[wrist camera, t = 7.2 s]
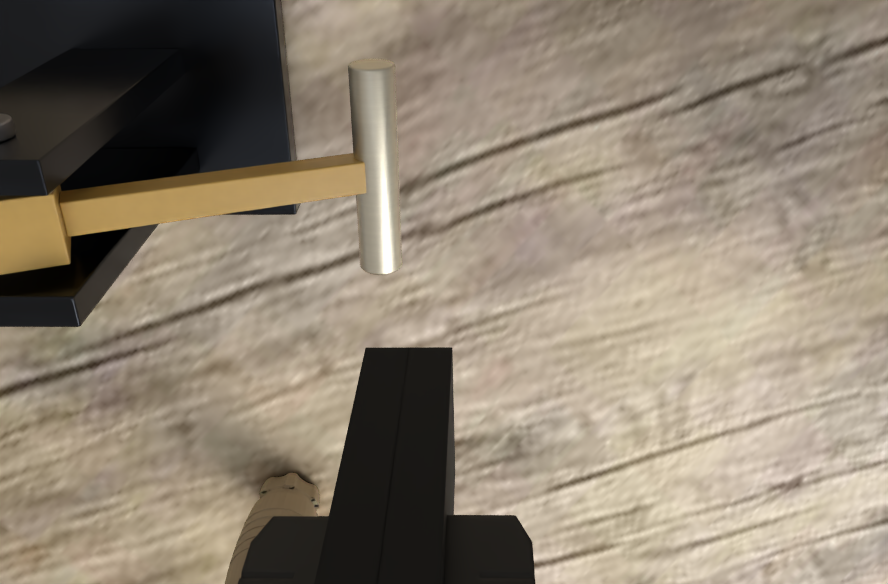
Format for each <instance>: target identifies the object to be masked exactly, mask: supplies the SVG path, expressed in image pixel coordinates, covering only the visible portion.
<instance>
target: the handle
mask: <svg viewBox="0 0 888 584" xmlns="http://www.w3.org/2000/svg"><path fill="white" fill-rule="evenodd" d="M259 495H260V499H259V500H258V501H257V502H256V504H255V505H254V507H253V508H252V510H251V512H250V514H249V516H248V518H247V520H246V522H245V524H244V527H243V529H242V532H241V534H240V537H239V539H238V542H237V544H236V547H235V550H234V553H233V557H232V559H231V562H230V565H229V569H228V572H227V577H226V581H225V584H238V581H239V578H241V572H242V568H243V565H244V562H245V559H246V556H247V553H248V550H249V547H250V543H251V541H252V540H253V539H254V538H255V537H256V536H257V534H258V533H259V532H260V531H261V530H262V529H263V528H264V526H265V525H266V524H267V523H268V522H269V521H270V519H271V518H272V517H273V516H318V515H317V512H316V511H317V509H318V508H319V504H320V494H319V490H318V488H317V487H316V486H315V485H314V484H310V483H307V482H305V481H304V480H302V479H301V478H300V477H299V476H298V474H295V473H288V474H287V475H285V476H282V477H271V478H269V479H267V480H266V481H265V483H264V484H263V486H262V488H261V490H260V493H259Z"/></svg>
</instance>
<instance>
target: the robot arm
mask: <svg viewBox="0 0 888 584" xmlns="http://www.w3.org/2000/svg"><path fill="white" fill-rule="evenodd" d="M454 488H455V446H454V403H453V359H452V348H366V349H365V353H364V358H363V362H362V367H361V372H360V376H359V381H358V385H357V390H356V395H355V399H354V404H353V408H352V413H351V418H350V422H349V427H348V431H347V436H346V440H345V445H344V450H343V454H342V459H341V463H340V468H339V473H338V477H337V482H336V486H335V491H334V495H333V500H332V505H331V509H330V514H329V516H273V517H272V518H271V519H270V521H269V522H268V523H267V524H266V525H265V526H264V528H263V529H262V530H261V531H260V532H259V533H258V534H257V536H256V537H255V538H254V539H253V540H252V541H251V543H250V547H249V550H248V553H247V556H246V559H245V562H244V565H243V568H242V572H241V578H239V581H238V584H535V577H534V560H533V547H532V541H531V539H530V538H529V536H528V535H527V533H526V531H525V530H524V528H523V527H522V525H521V523H520V522H519V520H518V519H517V517H516V516H514V515H454Z"/></svg>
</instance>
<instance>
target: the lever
mask: <svg viewBox="0 0 888 584" xmlns="http://www.w3.org/2000/svg"><path fill="white" fill-rule="evenodd" d="M348 73H349V89H350V105H351V121H352V137H353V153H351V154H344V155H336V156H328V157H321V158H313V159H305V160H298V161H290V162H282V163H275V164H267V165H259V166H252V167H244V168H236V169H229V170H221V171H213V172H205V173H198V174H190V175H182V176H175V177H167V178H159V179H152V180H144V181H136V182H129V183H121V184H113V185H106V186H98V187H90V188H83V189H75V190H67V191H61V187H60V185H59V186H58V187H57V188H56V189H54V190H53V191H52V192H51V193H50V194H49V195H47V196H0V275H3V274H9V273H16V272H22V271H29V270H35V269H41V268H48V267H54V266H61V265H67V264H70V262H71V236H78V235H84V234H91V233H98V232H105V231H112V230H119V229H126V228H132V227H139V226H146V225H153V224H160V223H167V222H174V221H180V220H187V219H194V218H201V217H208V216H215V215H222V214H228V213H235V212H242V211H249V210H256V209H263V208H270V207H276V206H283V205H290V204H297V203H304V202H311V201H318V200H324V199H331V198H338V197H345V196H352V195H356V201H357V217H358V233H359V249H360V265H361V268H362V269H363V270H364V271H365V272H367V273H370V274H376V275H383V274H390V273H393V272H395V271H397V270H399V269H400V267H401V265H402V250H401V222H400V195H399V167H398V140H397V112H396V85H395V65H394V63H393V62H391V61H388V60H384V59H362V60H357V61H354V62H352V63H350V64H349V66H348Z"/></svg>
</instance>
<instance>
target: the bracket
mask: <svg viewBox="0 0 888 584" xmlns="http://www.w3.org/2000/svg"><path fill="white" fill-rule="evenodd" d="M290 161H297V160H296V150H295V139H294V129H293V119H292V108H291V98H290V88H289V77H288V67H287V56H286V46H285V36H284V25H283V15H282V5H281V0H0V196H47V195H49V194H50V193H51V192H52V191H53V190H54V189H56V188H57V187H58V186H59V185H60V187H61V191H67V190H75V189H83V188H90V187H98V186H106V185H113V184H121V183H129V182H136V181H144V180H152V179H159V178H167V177H175V176H182V175H190V174H198V173H205V172H213V171H221V170H229V169H236V168H244V167H252V166H259V165H267V164H275V163H282V162H290ZM300 204H301V203H297V204H290V205H283V206H276V207H270V208H263V209H256V210H249V211H242V212H235V213H228V214H222V215H280V214H296V213H297V211H298V208H299V206H300ZM157 226H158V224H153V225H146V226H139V227H132V228H126V229H119V230H112V231H105V232H98V233H91V234H84V235H78V236H71V262H70V264H67V265H61V266H54V267H48V268H41V269H35V270H29V271H22V272H16V273H9V274H3V275H0V327H79V326H81V325H82V323H83V322H84V321H85V319H86V318H87V317H88V315H89V314H90V313H91V312H92V310H93V309H94V308H95V306H96V305H97V304H98V302H99V301H100V300H101V299H102V297H103V296H104V295H105V293H106V292H107V291H108V289H109V288H110V287H111V286H112V284H113V283H114V282H115V280H116V279H117V278H118V276H119V275H120V274H121V272H122V271H123V270H124V269H125V267H126V266H127V265H128V263H129V262H130V261H131V259H132V258H133V257H134V256H135V254H136V253H137V252H138V250H139V249H140V248H141V246H142V245H143V244H144V243H145V241H146V240H147V239H148V237H149V236H150V235H151V233H152V232H153V231H154V230H155V228H156V227H157Z"/></svg>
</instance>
